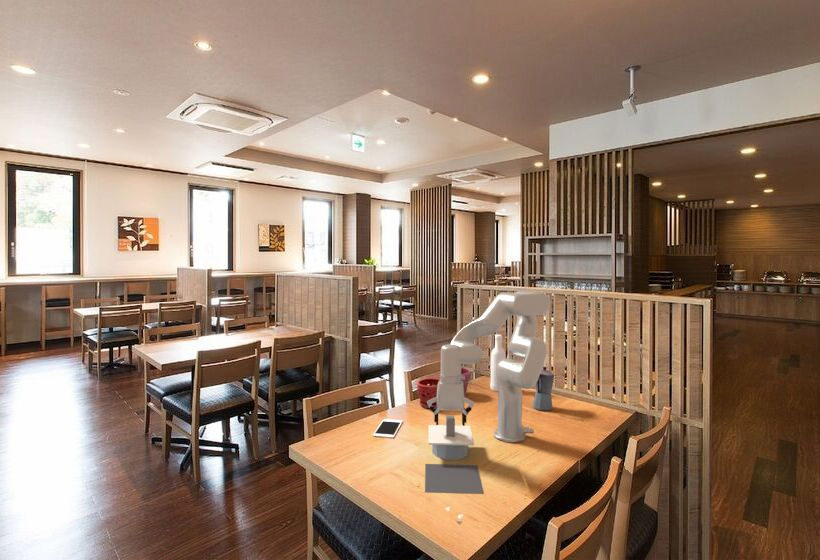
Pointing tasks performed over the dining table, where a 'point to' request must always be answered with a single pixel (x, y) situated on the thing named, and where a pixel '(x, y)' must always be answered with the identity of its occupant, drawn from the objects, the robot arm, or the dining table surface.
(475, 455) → the dining table surface
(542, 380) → the moka pot
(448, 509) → the acanthus leaf ornament
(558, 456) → the dining table surface
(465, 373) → the plant pot
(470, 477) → the mat
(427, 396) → the plant pot
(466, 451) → the bowl
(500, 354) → the bottle
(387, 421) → the cell phone
